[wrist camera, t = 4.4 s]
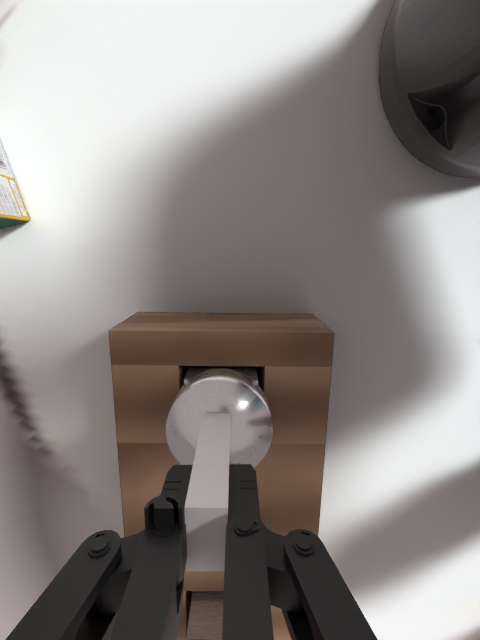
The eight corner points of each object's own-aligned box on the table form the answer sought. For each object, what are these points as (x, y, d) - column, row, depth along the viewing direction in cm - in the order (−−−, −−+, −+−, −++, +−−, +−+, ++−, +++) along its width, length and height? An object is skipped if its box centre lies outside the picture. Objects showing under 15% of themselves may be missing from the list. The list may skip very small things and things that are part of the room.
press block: (138, 312, 25) (108, 330, 20) (312, 314, 26) (334, 332, 20) (153, 589, 31) (134, 667, 26) (294, 589, 32) (307, 666, 26)
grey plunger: (185, 342, 24) (163, 381, 17) (263, 342, 24) (274, 382, 17) (187, 413, 26) (167, 478, 18) (261, 413, 26) (270, 479, 18)
